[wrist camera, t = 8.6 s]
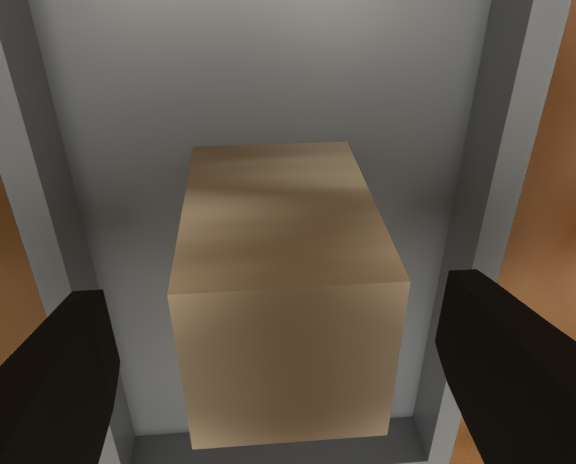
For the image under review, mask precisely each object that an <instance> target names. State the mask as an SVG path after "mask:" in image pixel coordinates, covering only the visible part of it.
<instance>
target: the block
mask: <svg viewBox="0 0 576 464" xmlns="http://www.w3.org/2000/svg"><path fill="white" fill-rule="evenodd" d="M410 283H411V281H410V279H409V277H408V275H407V272H406V270H405V268H404V266H403V264H402V261H401V259H400V257H399V255H398V253H397V250H396V248H395V246H394V244H393V242H392V239H391V237H390V235H389V233H388V231H387V228H386V226H385V224H384V222H383V219H382V217H381V215H380V213H379V211H378V208H377V206H376V204H375V202H374V200H373V197H372V195H371V193H370V191H369V189H368V186H367V184H366V182H365V180H364V178H363V175H362V173H361V171H360V169H359V166H358V164H357V162H356V160H355V158H354V155H353V153H352V151H351V149H350V147H349V144H348V142H347V141H344V142H316V143H289V144H261V145H233V146H206V147H193V151H192V157H191V162H190V168H189V174H188V179H187V185H186V191H185V196H184V202H183V208H182V213H181V219H180V225H179V230H178V236H177V242H176V247H175V253H174V259H173V264H172V270H171V276H170V281H169V287H168V293H167V297H168V303H169V309H170V316H171V322H172V328H173V334H174V340H175V346H176V352H177V359H178V365H179V371H180V377H181V383H182V389H183V395H184V402H185V408H186V414H187V420H188V426H189V432H190V438H191V444H192V450H193V449H207V448H220V447H234V446H247V445H261V444H274V443H288V442H301V441H315V440H328V439H342V438H355V437H369V436H382V435H387V434H388V428H389V421H390V414H391V408H392V401H393V395H394V388H395V381H396V375H397V368H398V362H399V355H400V349H401V342H402V335H403V329H404V322H405V316H406V309H407V302H408V296H409V289H410Z"/></svg>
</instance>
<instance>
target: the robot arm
mask: <svg viewBox="0 0 576 464" xmlns="http://www.w3.org/2000/svg"><path fill="white" fill-rule="evenodd" d="M435 345H436V348H437V351H438V355H439V358H440V362H441V365H442V368H443V371H444V374H445V377H446V380H447V383H448V386H449V388H450V390H451V392H452V395H453V397H454V399H455V401H456V404H457V406H458V408H459V410H460V412H461V414H462V417H463V419H464V421H465V423H466V425H467V427H468V430H469V432H470V434H471V436H472V438H473V440H474V442H475V445H476V447H477V449H478V451H479V453H480V455H481V457H482V460H483V462H484V464H576V341H575V340H573V339H572V338H570V337H569V336H567V335H566V334H565V333H563V332H562V331H560V330H559V329H557V328H556V327H555V326H553V325H552V324H551V323H549V322H548V321H546V320H545V319H544V318H542V317H541V316H540V315H538V314H537V313H536V312H534V311H533V310H532V309H530V308H529V307H528V306H526V305H525V304H524V303H522V302H521V301H520V300H518V299H517V298H516V297H514V296H513V295H512V294H510V293H509V292H508V291H506V290H505V289H504V288H502V287H501V286H500V285H498V284H497V283H496V282H494V281H493V280H492V279H490V278H489V277H487V276H486V275H485V274H483V273H482V272H480V271H479V270H477V269H468V270H450V271H449V272H448V277H447V282H446V287H445V292H444V297H443V302H442V307H441V312H440V317H439V322H438V327H437V332H436V337H435ZM119 369H120V358H119V353H118V349H117V345H116V341H115V337H114V333H113V329H112V324H111V320H110V316H109V312H108V308H107V304H106V300H105V295H104V291H103V289H101V290H82V291H72V292H71V293H70V294H69V295H68V296H67V297H66V298H65V299H64V300H63V301H62V302H61V303H60V304H59V305H58V306H57V307H56V309H55V310H54V311H53V312H52V313H51V314H50V315H49V316H48V317H47V318H46V319H45V320H44V321H43V322H42V323H41V324H40V326H39V327H38V328H37V329H36V330H35V331H34V332H33V333H32V334H31V335H30V336H29V337H28V338H27V339H26V340H25V341H24V342H23V343H22V344H21V345H20V346H19V347H18V348H17V349H16V351H15V352H14V353H13V354H12V355H11V356H10V357H9V358H8V359H7V360H6V361H5V362H4V363H3V364H2V365H1V366H0V464H98V463H99V460H100V456H101V453H102V449H103V446H104V442H105V438H106V435H107V431H108V427H109V424H110V420H111V416H112V413H113V409H114V403H115V397H116V391H117V384H118V377H119Z"/></svg>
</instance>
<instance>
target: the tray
mask: <svg viewBox="0 0 576 464" xmlns="http://www.w3.org/2000/svg"><path fill="white" fill-rule="evenodd" d="M571 2H572V0H0V175H1V178H2V181H3V184H4V187H5V190H6V193H7V196H8V199H9V202H10V205H11V208H12V211H13V214H14V218H15V221H16V224H17V227H18V230H19V233H20V236H21V239H22V242H23V245H24V248H25V251H26V254H27V257H28V260H29V264H30V267H31V270H32V273H33V276H34V279H35V282H36V285H37V288H38V291H39V294H40V297H41V300H42V303H43V306H44V310H45V313H46V316H47V317H48V316H49V315H50V314H51V313H52V312H53V311H54V310H55V309H56V307H57V306H58V305H59V304H60V303H61V302H62V301H63V300H64V299H65V298H66V297H67V296H68V295H69V294H70V293H71V292H72V291H82V290H101V289H103V291H104V295H105V300H106V304H107V308H108V312H109V316H110V320H111V324H112V329H113V333H114V337H115V341H116V345H117V349H118V353H119V358H120V369H119V377H118V384H117V391H116V397H115V403H114V409H113V413H112V416H111V420H110V424H109V427H108V431H107V435H106V438H105V442H104V446H103V449H102V453H101V456H100V460H99V463H98V464H449V462H450V458H451V455H452V451H453V447H454V443H455V440H456V436H457V432H458V428H459V424H460V421H461V417H462V414H461V412H460V410H459V408H458V406H457V404H456V401H455V399H454V397H453V395H452V392H451V390H450V388H449V386H448V383H447V380H446V377H445V374H444V371H443V368H442V365H441V362H440V358H439V355H438V351H437V348H436V345H435V337H436V332H437V327H438V322H439V317H440V312H441V307H442V302H443V297H444V292H445V287H446V282H447V277H448V272H449V271H450V270H468V269H477V270H479V271H480V272H482V273H483V274H485V275H486V276H487V277H489V278H490V279H492V280H493V281H494V282H496V283H497V281H498V277H499V274H500V270H501V266H502V262H503V259H504V255H505V251H506V247H507V243H508V240H509V236H510V232H511V228H512V225H513V221H514V217H515V213H516V210H517V206H518V202H519V198H520V194H521V191H522V187H523V183H524V179H525V176H526V172H527V168H528V164H529V160H530V157H531V153H532V149H533V145H534V142H535V138H536V134H537V130H538V127H539V123H540V119H541V115H542V111H543V108H544V104H545V100H546V96H547V93H548V89H549V85H550V81H551V78H552V74H553V70H554V66H555V62H556V59H557V55H558V51H559V47H560V44H561V40H562V36H563V32H564V29H565V25H566V21H567V17H568V13H569V10H570V6H571ZM344 141H347V142H348V144H349V147H350V149H351V151H352V153H353V155H354V158H355V160H356V162H357V164H358V166H359V169H360V171H361V173H362V175H363V178H364V180H365V182H366V184H367V186H368V189H369V191H370V193H371V195H372V197H373V200H374V202H375V204H376V206H377V208H378V211H379V213H380V215H381V217H382V219H383V222H384V224H385V226H386V228H387V231H388V233H389V235H390V237H391V239H392V242H393V244H394V246H395V248H396V250H397V253H398V255H399V257H400V259H401V261H402V264H403V266H404V268H405V270H406V272H407V275H408V277H409V279H410V281H411V283H410V289H409V296H408V302H407V309H406V316H405V322H404V329H403V335H402V342H401V349H400V355H399V362H398V368H397V375H396V381H395V388H394V395H393V401H392V408H391V414H390V421H389V428H388V434H387V435H382V436H369V437H355V438H342V439H328V440H315V441H301V442H288V443H274V444H261V445H247V446H234V447H220V448H207V449H193V450H192V444H191V438H190V432H189V426H188V420H187V414H186V408H185V402H184V395H183V389H182V383H181V377H180V371H179V365H178V359H177V352H176V346H175V340H174V334H173V328H172V322H171V316H170V309H169V303H168V297H167V293H168V287H169V281H170V276H171V270H172V264H173V259H174V253H175V247H176V242H177V236H178V230H179V225H180V219H181V213H182V208H183V202H184V196H185V191H186V185H187V179H188V174H189V168H190V162H191V157H192V151H193V147H206V146H233V145H261V144H289V143H316V142H344Z"/></svg>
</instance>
